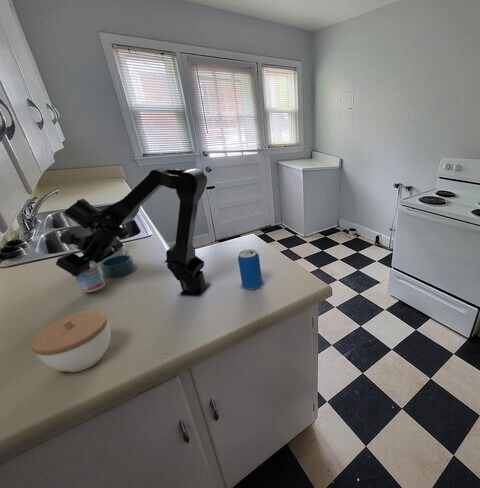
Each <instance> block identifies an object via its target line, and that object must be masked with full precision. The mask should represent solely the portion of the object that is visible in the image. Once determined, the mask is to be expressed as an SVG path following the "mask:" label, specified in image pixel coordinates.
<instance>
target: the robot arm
mask: <svg viewBox="0 0 480 488" xmlns="http://www.w3.org/2000/svg"><path fill="white" fill-rule="evenodd" d="M207 185H208V177H207V175H206V174H205V172H204V171H202V170H201V169H199V168H191V169H174V168H173V169H172V168H166V167H159V168H156V169H151V170H150V171H149V173H148V175H146V176H145V177H144V178H143V179H142V180H141V181H140V182H139V183H138V184H137V185H136V186H135V187H134V188H133V189H132V190H131V191H129V193H127V194H126V196H124V198H122V199H120V200H117V201H116V202H114V203H112V204H110V205H109V206H107V207H105V208H104V209H102V210H100V209H99V208H97V207H96V206H94V205H93V204H91V203H90V202H89V201H88V200H86V199H85V198H81V199H77V200H76V202H75V203H73V204H71V206H69V207H68V208H66V209H65V211H64V216H65V217H67V218H68V219H70V220H72V221H73V222H75V223H76V224H77V225H79V226H81V227H79V226H74V227H71V228H69V229H66V230H64V231H63V232H62V233H61V235H60V236H59V242H60V243H62V244H65V245H68V246H71V245H74V246H77V247H76V249H77V250H78V251H80V252H81V255H82V254H84V255H83V256H81V257H79V256H78V255H77V254H76V253H74V252H68V253H66V254H65V255H64V254H63V255H62V256H61V257H58V258H57V260H56V262H55V265H56V266H57V267H59V268H61V269H62V270H63V271H65V272H67V273H69V274H70V275H71V276H73V277H75V276H79V275H80V274H82V273H84V272H86V271H87V270H89V269H90V265H89V264H90V261H95V262H96V264H97V265H98V264H100V263H101V262H102V260H104V259H106V258H108V257H110V256H111V255H113V254H114V253H115V252H117V251H119V250H120V249H121V248H123V247H124V244H123V242H122V241H121V240H122V239H124V238H126V237H127V236H129V235H130V234H131V233H130V231H129V230H128V228H127V226H123V225H124V224H125V225H126V224H127V223H129V222H131V221H133V220H134V219H135V217H136V216H137V215H138V213H139V212H140V208H141V206H142V205H144V203H146V201H148V200H149V199H150V198H151V197H152V196H153V195H154V194H155V193H156V192H158V191H159V190H160V189H161V188H162V187H166V188H168V189H171V190H175V193H176V195H177V198H178V200H179V206H178V207H179V208H178V217H177V225H176V233H175V234H176V236H175V244H174V245H172V246H170V248H169V249H167V250H166V253H165V255H166V259H165V261H164V264H166V267H167V269H168V270H169V271H170V272H171V274H172V275H173V276H174V277H175V279H176V280H177V281H178V282H179V284H180V287H181V292H180V295H181V296H201V295H202V294H203V293H204V291H205V290H206V289H207V288H208V287H209V286H210V284H209V283H208V282H206V280H205V279H206V278H205V275H204V271H203V270H202V269H203V268H204V267H205V261H204V260H203V259H201V258H200V257H198V256H197V255H196V249H195V247H194V244H193V243H194V236H195V235H194V234H195V227H196V221H197V213H198V206H199V202H200V199H201V198H202V196H203V194H204V192H205V190H206V187H207ZM95 226H96V228H95V230H94V231H93V233H92V232H91V230H88V228H89V229H90V228H93V227H95ZM117 237H119V239H121V240H120V241H119V240H118V239H117ZM111 247H112V248H114V251H112V250H111V249H112V248H111Z"/></svg>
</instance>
